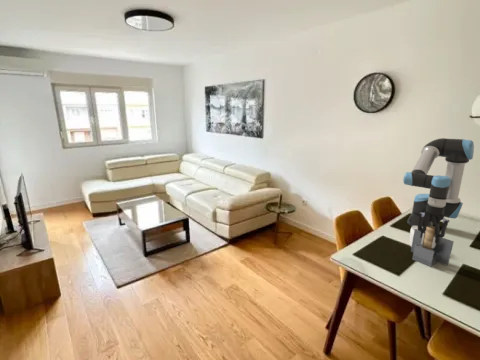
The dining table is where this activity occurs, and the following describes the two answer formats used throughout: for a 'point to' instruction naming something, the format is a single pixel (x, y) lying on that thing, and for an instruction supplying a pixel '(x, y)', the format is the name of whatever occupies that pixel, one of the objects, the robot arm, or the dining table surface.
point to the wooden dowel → (429, 237)
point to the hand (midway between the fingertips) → (427, 245)
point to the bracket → (431, 251)
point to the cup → (412, 233)
